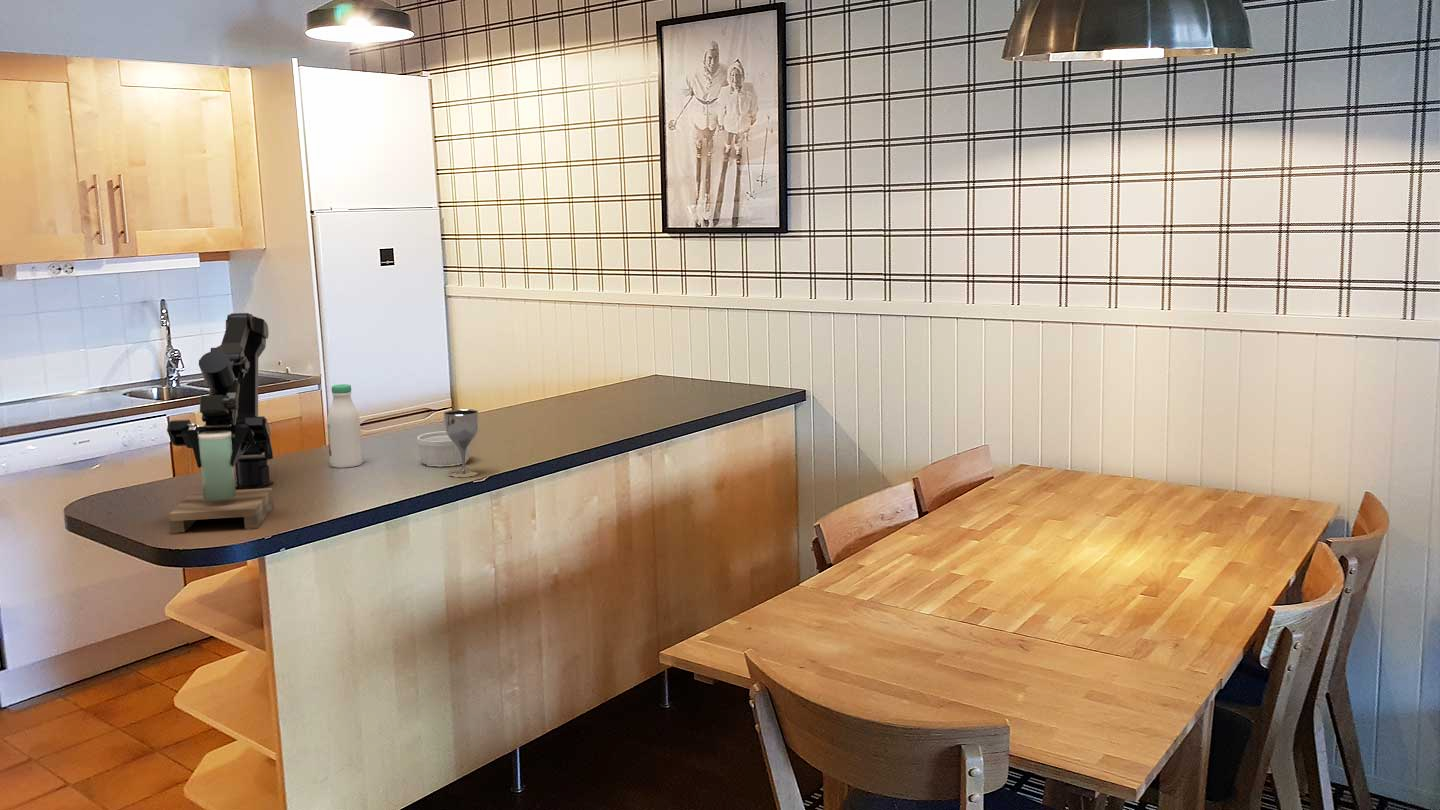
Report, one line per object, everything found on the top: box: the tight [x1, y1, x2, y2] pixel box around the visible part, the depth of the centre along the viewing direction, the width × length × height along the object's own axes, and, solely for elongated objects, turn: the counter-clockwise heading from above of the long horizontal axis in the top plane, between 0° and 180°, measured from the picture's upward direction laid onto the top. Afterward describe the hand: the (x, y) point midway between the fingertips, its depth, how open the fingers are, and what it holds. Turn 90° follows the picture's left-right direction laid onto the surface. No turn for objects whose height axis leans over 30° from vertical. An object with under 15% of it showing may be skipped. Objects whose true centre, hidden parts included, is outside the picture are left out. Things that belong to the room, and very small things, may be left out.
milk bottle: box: [326, 384, 363, 469], centre depth 287 cm, size 8×8×20 cm
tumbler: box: [198, 430, 237, 500], centre depth 233 cm, size 6×6×13 cm
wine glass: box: [443, 408, 479, 474], centre depth 275 cm, size 8×8×15 cm
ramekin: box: [416, 430, 472, 465], centre depth 289 cm, size 13×13×7 cm
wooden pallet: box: [169, 487, 274, 534], centre depth 237 cm, size 18×16×4 cm
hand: (215, 465), depth 232 cm, fingers closed on tumbler, 6 cm apart
